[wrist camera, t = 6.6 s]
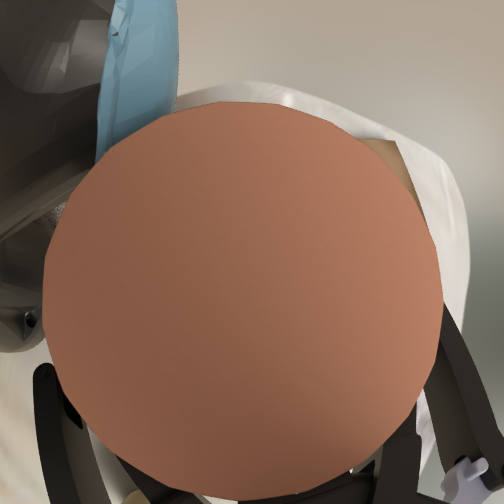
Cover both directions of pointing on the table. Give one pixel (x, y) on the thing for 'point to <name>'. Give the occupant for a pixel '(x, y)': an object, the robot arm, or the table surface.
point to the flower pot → (136, 498)
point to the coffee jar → (242, 300)
